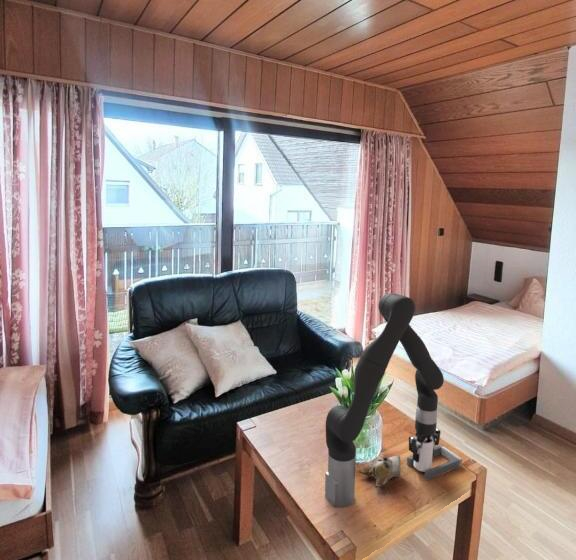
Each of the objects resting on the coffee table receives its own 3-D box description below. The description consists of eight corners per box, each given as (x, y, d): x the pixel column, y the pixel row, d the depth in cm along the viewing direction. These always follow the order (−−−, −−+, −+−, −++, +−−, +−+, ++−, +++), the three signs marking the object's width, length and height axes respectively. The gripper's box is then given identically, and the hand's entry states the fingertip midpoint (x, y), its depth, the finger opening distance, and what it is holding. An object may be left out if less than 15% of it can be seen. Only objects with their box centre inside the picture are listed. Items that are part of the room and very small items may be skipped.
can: (411, 469, 162) (413, 440, 160) (415, 459, 168) (417, 432, 165) (429, 474, 159) (432, 445, 157) (432, 464, 165) (435, 436, 162)
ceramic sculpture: (409, 459, 156) (376, 474, 149) (409, 480, 158) (376, 495, 151) (390, 444, 165) (358, 457, 159) (390, 464, 167) (358, 477, 161)
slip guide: (426, 480, 158) (427, 473, 157) (406, 464, 167) (407, 457, 166) (461, 465, 166) (462, 458, 165) (440, 451, 175) (441, 444, 174)
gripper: (419, 428, 153) (415, 469, 156) (448, 418, 159) (444, 458, 163) (404, 418, 159) (401, 458, 163) (432, 409, 166) (429, 447, 169)
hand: (423, 458), depth 163 cm, fingers closed on can, 6 cm apart
